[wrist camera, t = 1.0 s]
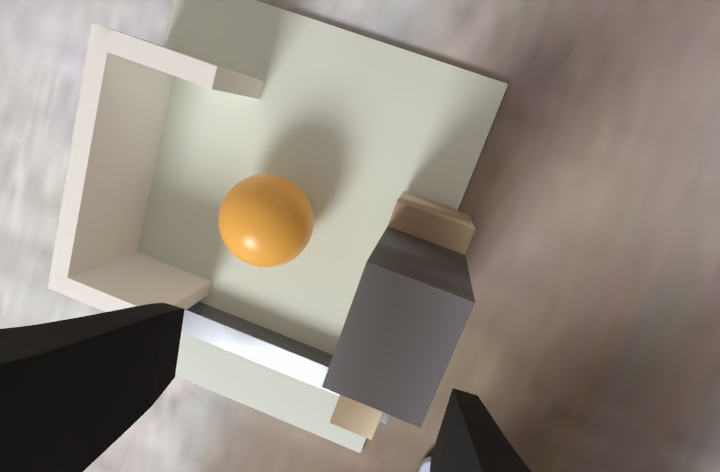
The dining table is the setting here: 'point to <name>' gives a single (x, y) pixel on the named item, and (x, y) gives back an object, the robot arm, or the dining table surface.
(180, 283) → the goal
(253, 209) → the ball
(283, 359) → the rail
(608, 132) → the dining table surface
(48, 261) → the dining table surface
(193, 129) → the mat
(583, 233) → the dining table surface
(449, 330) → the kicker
